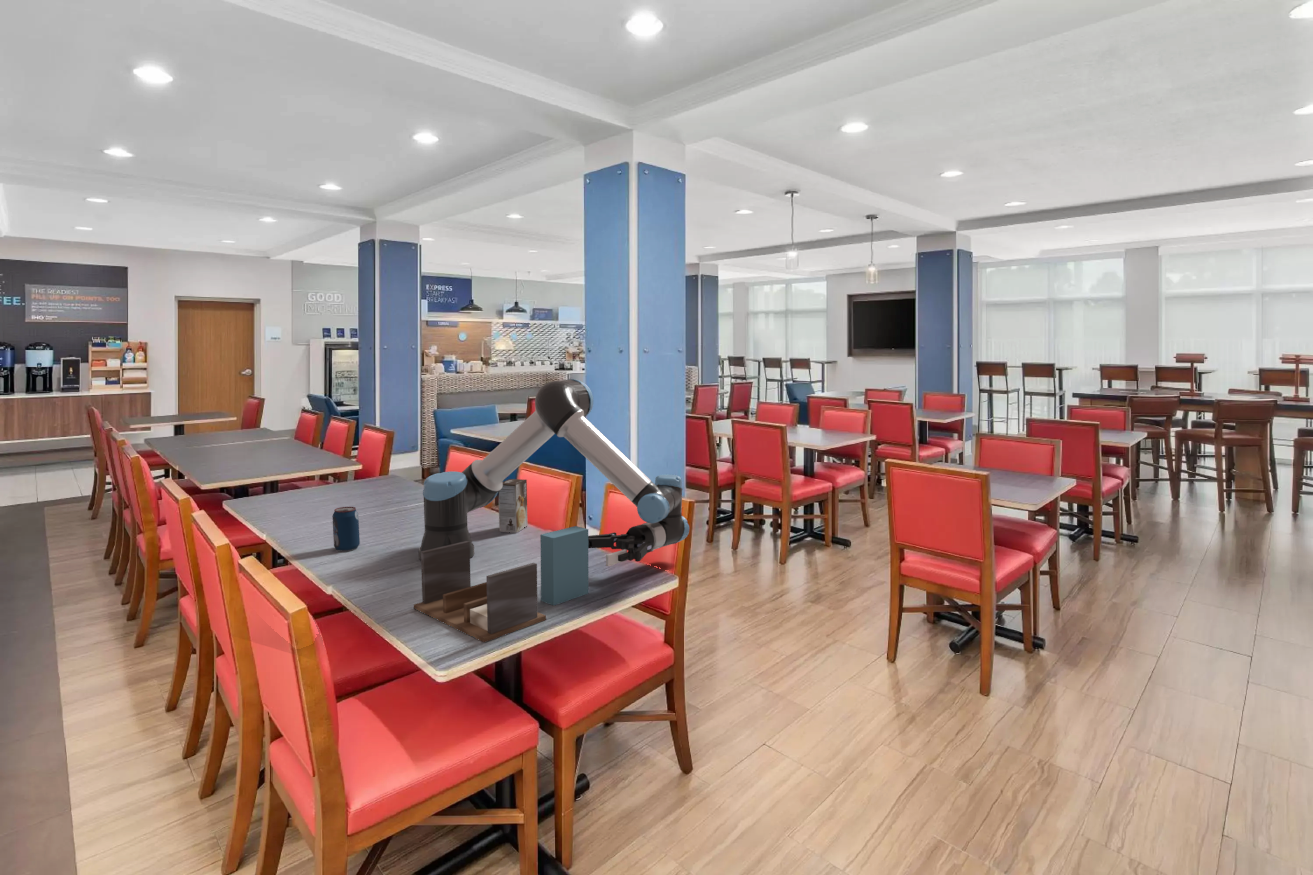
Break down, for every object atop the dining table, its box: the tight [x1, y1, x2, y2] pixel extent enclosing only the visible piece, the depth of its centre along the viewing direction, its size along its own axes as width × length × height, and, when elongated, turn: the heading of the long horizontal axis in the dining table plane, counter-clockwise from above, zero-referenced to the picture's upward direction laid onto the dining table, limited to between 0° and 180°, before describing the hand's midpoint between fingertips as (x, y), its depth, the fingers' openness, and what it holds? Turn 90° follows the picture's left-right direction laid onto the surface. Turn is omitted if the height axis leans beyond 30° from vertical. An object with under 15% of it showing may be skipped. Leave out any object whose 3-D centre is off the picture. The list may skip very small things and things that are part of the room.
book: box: [539, 525, 589, 607], centre depth 162 cm, size 4×11×16 cm, turn 139°
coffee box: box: [497, 478, 529, 534], centre depth 224 cm, size 9×6×16 cm
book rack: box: [413, 541, 547, 643], centre depth 151 cm, size 27×16×13 cm, turn 49°
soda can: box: [332, 506, 361, 552], centre depth 200 cm, size 7×7×12 cm
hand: (587, 555), depth 167 cm, fingers open, 13 cm apart
